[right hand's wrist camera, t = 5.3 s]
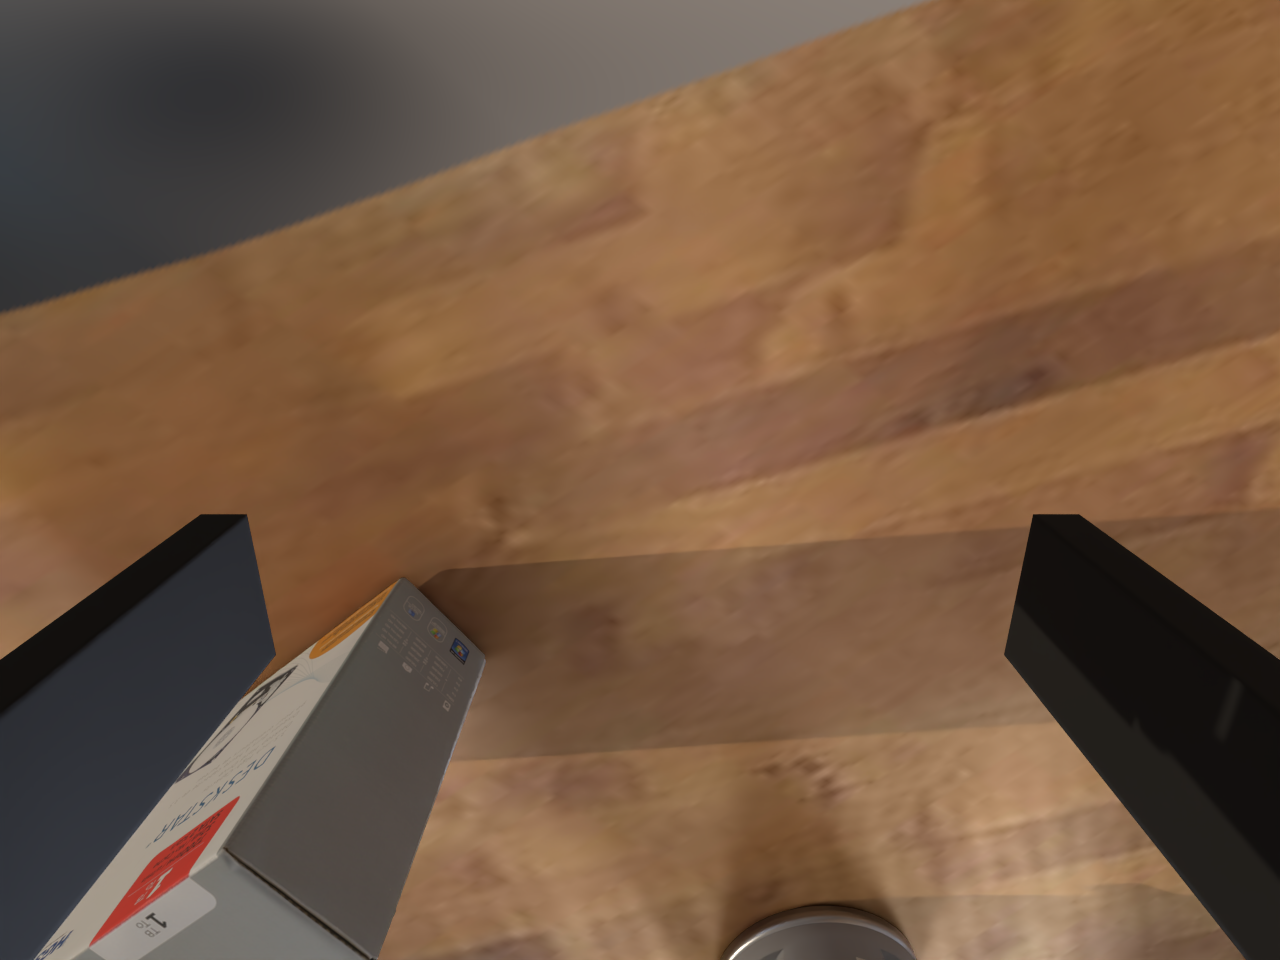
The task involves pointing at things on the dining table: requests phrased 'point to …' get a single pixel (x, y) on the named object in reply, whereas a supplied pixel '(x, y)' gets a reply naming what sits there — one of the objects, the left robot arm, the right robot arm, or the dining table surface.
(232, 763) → the hard drive box
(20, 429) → the dining table surface
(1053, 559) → the right robot arm
